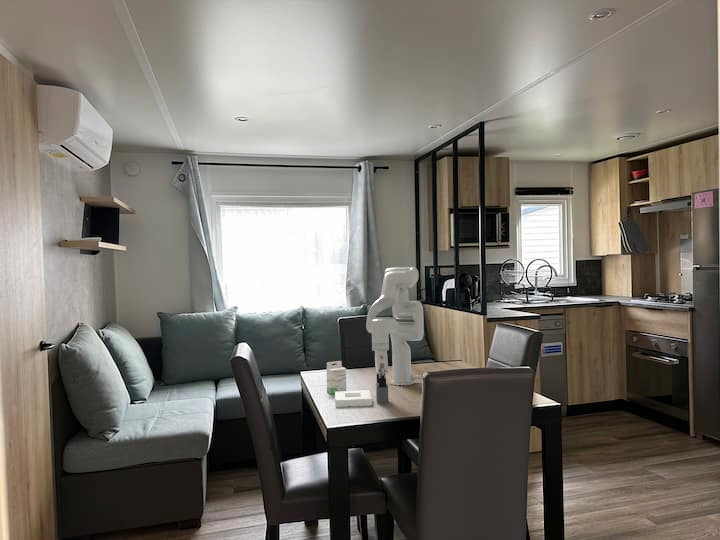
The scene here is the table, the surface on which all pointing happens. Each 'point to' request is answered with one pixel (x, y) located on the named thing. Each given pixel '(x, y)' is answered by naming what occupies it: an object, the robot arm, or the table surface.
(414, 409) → the table surface
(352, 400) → the socket
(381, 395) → the plug
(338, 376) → the ink box
